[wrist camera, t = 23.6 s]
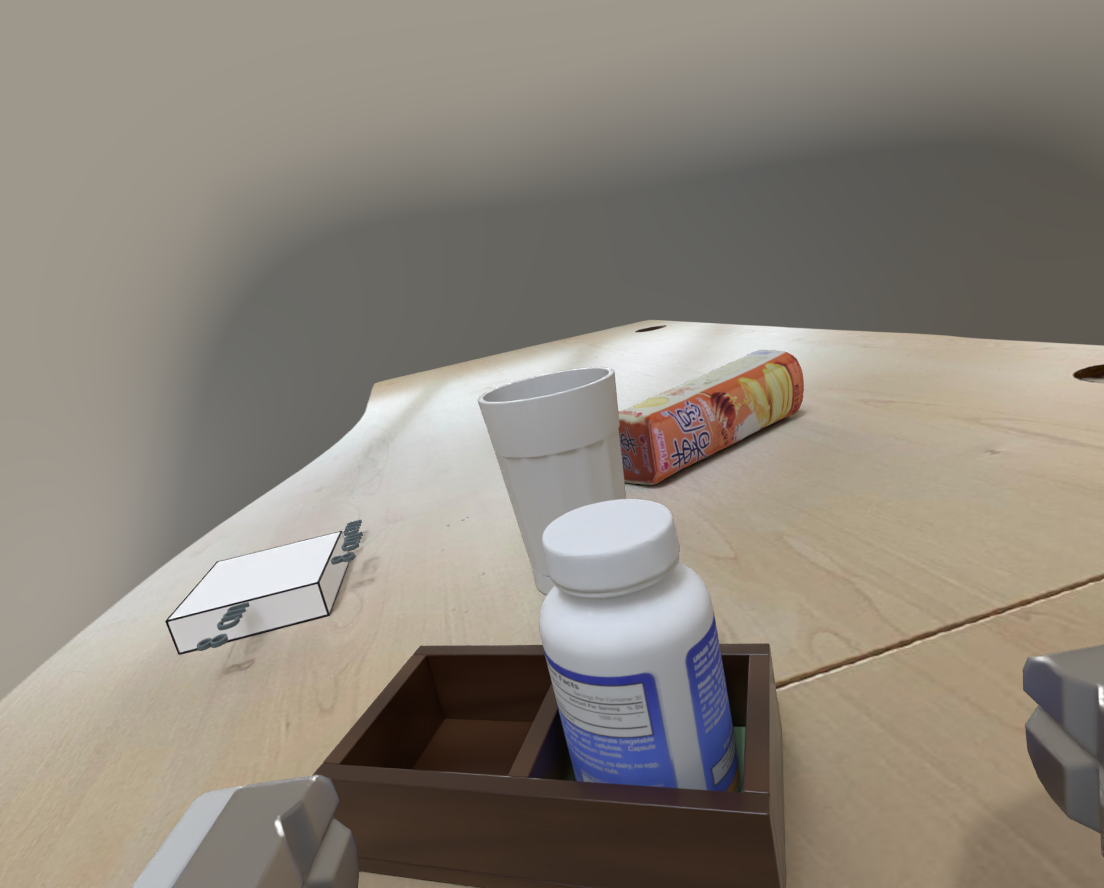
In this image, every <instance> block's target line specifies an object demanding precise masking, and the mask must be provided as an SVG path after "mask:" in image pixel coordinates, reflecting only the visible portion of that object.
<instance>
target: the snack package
mask: <svg viewBox="0 0 1104 888" xmlns="http://www.w3.org/2000/svg"><path fill="white" fill-rule="evenodd" d="M803 391H804V382H803V374H802V369H801V367H800V365H799V363H798V361H797V359H796V358H795V357H794V356H793V355H791V354H789V353H787V352H783V351H775V350H759V351H755V352H752V353H750V354H748V355H746V356H745V357H742V358H740V359H738V360H736V361H733V362H731V363H728V364H726V365H724V366H722V367H720V368H718V369H715V370H713V371H711V372H709V373H707V374H705V375H702V376H700V377H698V378H695V379H692V380H690V381H688V382H686V383H684V384H682V385H679V386H677V387H675V388H672V389H670V390H668V391H665V392H663V393H660V394H658V395H656V396H654V397H651V398H649V399H647V400H645V401H643V402H642V403H640V404H637V405H635V406H633V407H630V408H628V409H625V410H621V411H618V414H619V424H620V426H619V428H618V430H619V439H620V447H621V456H622V465H623V474H624V482H629V483H634V484H645V485H653V484H657V483H659V482H661V481H662V480H664V479H665V478H667V477H669V476H671V475H672V474H674V473H676V472H677V471H679V470H681V469H683V468H685V467H687V466H689V465H691V464H693V463H695V462H697V461H699V460H702V459H704V458H706V457H708V456H710V455H712V454H714V453H716V452H718V451H720V450H722V449H724V448H726V447H728V446H730V445H732V444H734V443H736V442H738V441H740V440H742V439H743V438H745V437H747V436H748V435H750V434H753V433H755V432H757V431H759V430H761V429H763V428H765V427H767V426H769V425H771V424H773V423H775V422H777V421H779V420H781V419H783V418H786V417H788V416H790V415H793V414H794V413H796V412H797V411H798V409H799V408H800V405H801V403H802V400H803Z"/></svg>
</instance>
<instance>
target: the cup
mask: <svg viewBox="0 0 1104 888" xmlns="http://www.w3.org/2000/svg"><path fill="white" fill-rule="evenodd" d="M478 403H479V406H480V409H481V412H482V415H483V418H484V421H485V424H486V427H487V430H488V433H489V436H490V439H491V442H492V445H493V448H494V451H495V454H496V457H497V460H498V463H499V466H500V469H501V472H502V475H503V478H504V482H505V485H506V488H507V491H508V494H509V497H510V500H511V503H512V506H513V510H514V513H515V516H516V519H517V522H518V525H519V528H520V531H521V534H522V538H523V541H524V544H525V547H526V550H527V553H528V556H529V559H530V562H531V566H532V569H533V574H534V578H535V582H536V586H537V588H538V589H539V590H540V591H541V592H542V593H544V594H546V595H548V593H549V592H550V591H551V589H552V588H553V587H554V586H555V585H554V584H553V583H552V580H551V579H550V577H549V576H548V573H547V569H546V561H545V555H544V550H543V545H542V536H543V533H544V531H545V529H546V528H547V527H548V525H549V524H551V523H552V522H553V521H554V520H555V519H557V518H559V517H560V516H562V515H564V514H565V513H568V512H570V511H572V510H574V509H577V508H580V507H583V506H586V505H590V504H594V503H599V502H605V501H610V500H619V499H626V492H625V483H624V474H623V465H622V456H621V447H620V439H619V430H618V428H619V426H620V424H619V414H618V404H617V393H616V383H615V372H614V370H613V369H611V368H607V367H589V368H578V369H571V370H564V371H558V372H553V373H548V374H543V375H539V376H534V377H530V378H526V379H522V380H519V381H515V382H512V383H509V384H506V385H503V386H500V387H497V388H495V389H492V390H490V391H488V392H486V393H484V394H482V395H481V396H480V397H479V398H478Z"/></svg>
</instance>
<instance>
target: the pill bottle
mask: <svg viewBox="0 0 1104 888" xmlns="http://www.w3.org/2000/svg"><path fill="white" fill-rule="evenodd" d="M542 545H543V550H544V555H545V561H546V569H547V573H548V576H549V577H550V579H551V580H552V583H553V584H554V585H555V586H554V587H553V588H552V589H551V591H550V592H549V593H548V595H547V596H546V598H545V600H544V602H543V604H542V607H541V611H540V617H539V629H540V634H541V639H542V643H543V648H544V652H545V657H546V660H547V664H548V669H549V673H550V677H551V681H552V685H553V689H554V693H555V697H556V701H557V705H558V709H559V713H560V717H561V721H562V725H563V729H564V733H565V737H566V741H567V745H568V750H569V754H570V758H571V762H572V766H573V770H574V774H575V778H576V781H582V782H597V783H611V784H626V785H640V786H654V787H669V788H683V789H698V790H712V791H726V792H739V788H740V769H739V760H738V754H737V748H736V743H735V735H734V730H733V724H732V717H731V712H730V706H729V700H728V694H727V688H726V682H725V676H724V670H723V664H722V658H721V652H720V646H719V640H718V633H717V628H716V622H715V617H714V611H713V606H712V602H711V598H710V595H709V592H708V589H707V587H706V585H705V583H704V582H703V580H702V579H701V578H700V576H699V575H698V574H697V573H696V572H695V571H693V570H692V569H691V568H689V567H688V566H686V565H684V564H682V563H680V562H678V561H679V552H680V545H679V542H678V538H677V533H676V528H675V524H674V520H673V516H672V514H671V512H670V511H669V509H667V508H666V507H665V506H663V505H661V504H659V503H656V502H652V501H648V500H639V499H619V500H610V501H605V502H599V503H594V504H590V505H586V506H583V507H580V508H577V509H574V510H572V511H570V512H568V513H565V514H564V515H562V516H560V517H559V518H557V519H555V520H554V521H553V522H552V523H551V524H549V525H548V527H547V528H546V529H545V531H544V533H543V536H542Z"/></svg>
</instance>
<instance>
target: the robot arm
mask: <svg viewBox="0 0 1104 888" xmlns="http://www.w3.org/2000/svg"><path fill="white" fill-rule="evenodd" d="M1023 690H1024V691H1025V692H1026V693H1027V694H1028V695H1029V696H1030V697H1031V698H1032V699H1033V700H1034V701H1035V702H1036V703H1037V704H1038V707H1037V708H1036V709H1035V711H1034V712H1033V714H1032V715H1031V717H1030V718H1029V720H1028V721H1027V722H1026V724H1025V728H1026V739H1027V749H1028V753H1029V755H1030V758H1031V760H1032V763H1033V766H1034V768H1035V771H1036V773H1037V776H1038V778H1039V780H1040V781H1041V783H1042V784H1043V786H1044V787H1045V789H1046V791H1047V792H1048V794H1049V795H1050V797H1051V798H1052V799H1053V800H1054V802H1055V803H1056V804H1057V805H1058V806H1059V807H1060V809H1061V810H1062V811H1063V812H1064V813H1065V814H1066V815H1067V817H1068V818H1070V819H1072V820H1074V821H1076V822H1078V823H1080V824H1082V825H1084V826H1086V827H1088V828H1090V829H1092V830H1094V831H1096V832H1098V833H1101V851H1102V856H1103V857H1104V645H1098V646H1092V647H1086V648H1080V649H1075V650H1069V651H1063V652H1057V653H1051V654H1045V655H1039V656H1034V657H1028V658H1027V661H1026V663H1025V666H1024V668H1023ZM339 802H340V800H339V798H338V795H337V793H336V790H335V788H334V786H333V783H332V781H331V779H330V778H327V777H325V776H322V775H314V776H307V777H300V778H293V779H286V780H279V781H271V782H264V783H257V784H250V785H246V786H244V787H233V788H226V789H220V790H213V791H208V792H206V793H205V794H203V795H201V796H199V797H197V798H195V800H194V801H193V803H192V804H191V805H190V807H189V808H188V809H187V811H186V812H185V814H184V815H183V816H182V818H181V819H180V820H179V822H178V823H177V825H176V826H175V827H174V829H173V830H172V832H171V833H170V834H169V836H168V837H167V838H166V840H165V841H164V843H163V844H162V845H161V847H160V848H159V849H158V851H157V852H156V854H155V855H154V856H153V858H152V859H151V860H150V862H149V863H148V865H147V866H146V867H145V869H144V870H143V871H142V873H141V874H140V876H139V877H138V878H137V880H136V881H135V883H134V884H133V885H132V887H131V888H358V880H359V869H360V868H359V860H358V853H357V847H356V844H355V841H354V838H353V835H352V832H351V830H349V829H348V828H347V827H345V826H344V825H343V824H341V823H340V822H339V821H337V820H336V819H335V818H333V817H334V814H335V812H336V809H337V807H338V804H339Z"/></svg>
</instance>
